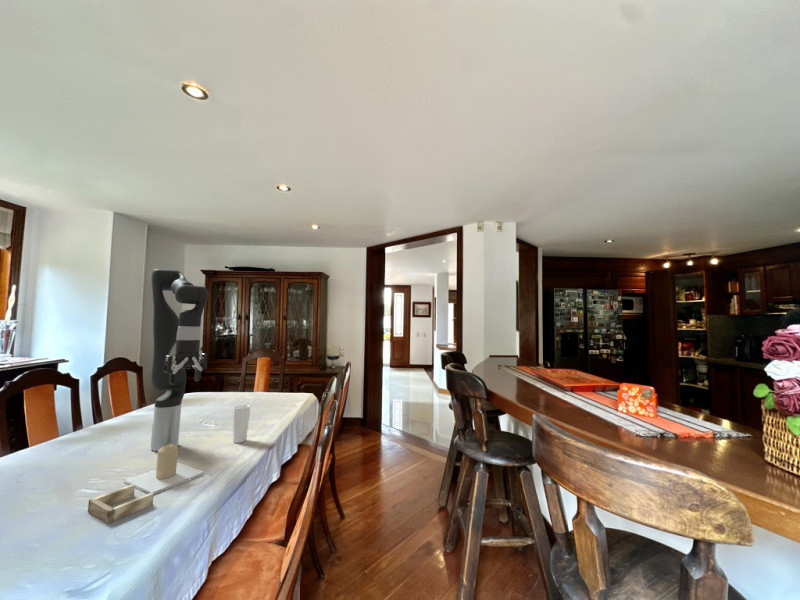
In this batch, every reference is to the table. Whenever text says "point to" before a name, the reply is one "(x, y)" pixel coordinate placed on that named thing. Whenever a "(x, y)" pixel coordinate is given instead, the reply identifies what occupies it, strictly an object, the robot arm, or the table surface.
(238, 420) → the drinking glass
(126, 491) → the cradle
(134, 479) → the plate
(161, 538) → the table surface
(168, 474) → the candle
